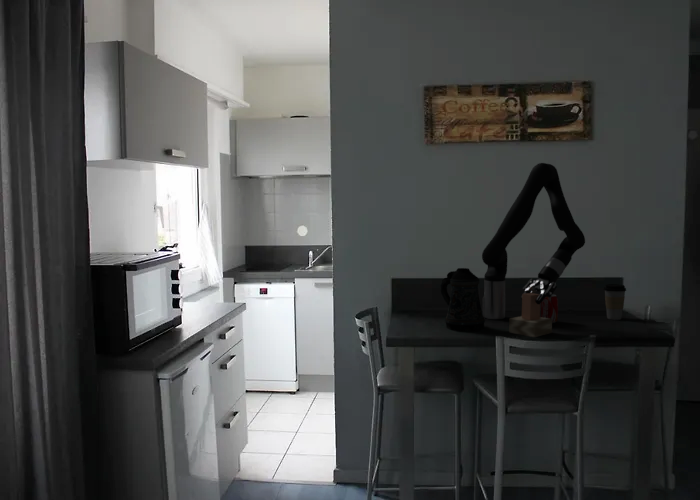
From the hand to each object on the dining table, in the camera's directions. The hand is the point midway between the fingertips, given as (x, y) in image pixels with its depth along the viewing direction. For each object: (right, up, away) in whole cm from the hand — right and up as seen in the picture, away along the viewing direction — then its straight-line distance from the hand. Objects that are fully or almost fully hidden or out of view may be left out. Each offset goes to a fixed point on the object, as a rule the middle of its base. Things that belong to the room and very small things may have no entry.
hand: (529, 301), depth 252 cm
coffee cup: (+46, -10, +28) cm, 55 cm away
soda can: (+15, -11, +22) cm, 29 cm away
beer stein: (-25, -12, +13) cm, 31 cm away
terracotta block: (+1, -7, +1) cm, 7 cm away
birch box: (+1, -13, +1) cm, 13 cm away
